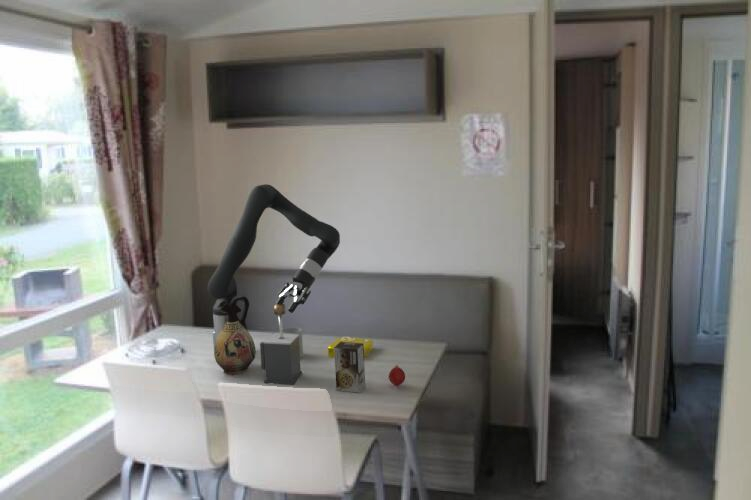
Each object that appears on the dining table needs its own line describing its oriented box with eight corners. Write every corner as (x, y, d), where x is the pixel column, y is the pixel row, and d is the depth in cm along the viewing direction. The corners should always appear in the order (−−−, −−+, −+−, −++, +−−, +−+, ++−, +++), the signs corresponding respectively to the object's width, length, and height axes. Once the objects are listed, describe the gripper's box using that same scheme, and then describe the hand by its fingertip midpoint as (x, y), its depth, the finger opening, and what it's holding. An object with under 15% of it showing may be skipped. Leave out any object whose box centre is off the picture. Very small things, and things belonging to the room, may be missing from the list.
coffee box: (365, 386, 234) (364, 343, 231) (359, 393, 228) (358, 349, 225) (342, 383, 237) (340, 341, 234) (335, 390, 231) (333, 346, 228)
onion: (388, 383, 235) (387, 362, 234) (404, 382, 236) (403, 361, 234) (390, 390, 230) (389, 368, 228) (406, 389, 230) (405, 367, 229)
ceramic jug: (221, 381, 241) (215, 303, 236) (211, 368, 255) (205, 294, 249) (266, 372, 249) (261, 296, 244) (253, 360, 263) (249, 288, 257)
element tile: (326, 357, 265) (326, 346, 264) (341, 345, 279) (341, 334, 278) (361, 361, 260) (360, 349, 259) (374, 349, 274) (374, 338, 273)
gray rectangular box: (257, 382, 240) (255, 342, 237) (268, 371, 250) (265, 332, 247) (293, 384, 237) (290, 343, 234) (302, 373, 247) (300, 333, 245)
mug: (307, 354, 268) (306, 328, 266) (295, 361, 261) (294, 334, 259) (283, 350, 274) (282, 325, 272) (271, 356, 267) (269, 330, 265)
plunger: (268, 357, 239) (265, 307, 235) (276, 350, 246) (273, 302, 242) (288, 358, 237) (286, 308, 234) (295, 351, 244) (292, 302, 241)
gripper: (290, 265, 248) (265, 300, 242) (312, 270, 237) (287, 307, 232) (302, 276, 252) (278, 311, 247) (324, 282, 242) (300, 318, 236)
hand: (283, 309), depth 239 cm, fingers open, 8 cm apart
